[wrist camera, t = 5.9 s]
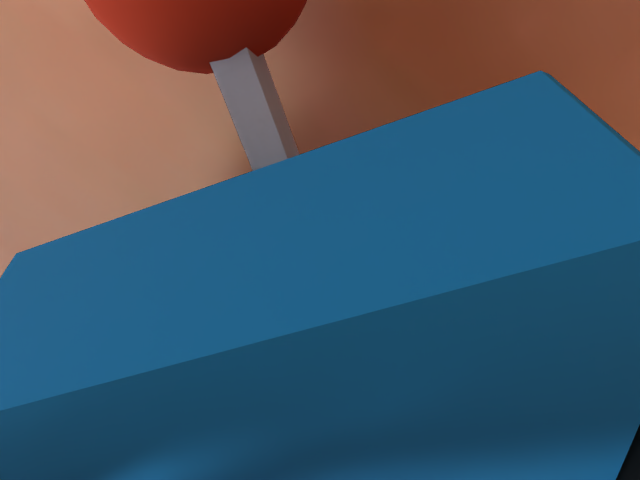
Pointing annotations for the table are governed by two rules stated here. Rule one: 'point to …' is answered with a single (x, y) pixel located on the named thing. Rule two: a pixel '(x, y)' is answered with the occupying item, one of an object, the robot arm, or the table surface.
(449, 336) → the blue rectangular block
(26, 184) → the table surface
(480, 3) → the table surface
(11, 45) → the table surface
